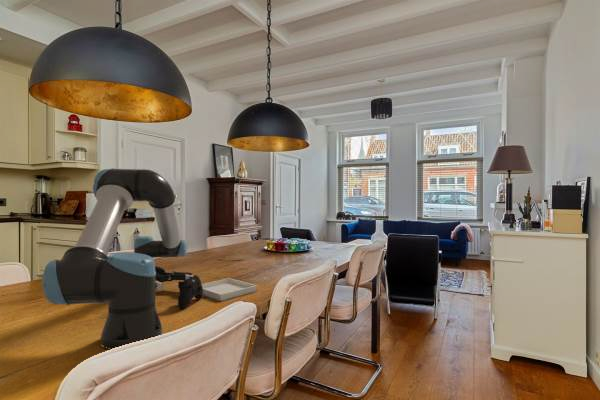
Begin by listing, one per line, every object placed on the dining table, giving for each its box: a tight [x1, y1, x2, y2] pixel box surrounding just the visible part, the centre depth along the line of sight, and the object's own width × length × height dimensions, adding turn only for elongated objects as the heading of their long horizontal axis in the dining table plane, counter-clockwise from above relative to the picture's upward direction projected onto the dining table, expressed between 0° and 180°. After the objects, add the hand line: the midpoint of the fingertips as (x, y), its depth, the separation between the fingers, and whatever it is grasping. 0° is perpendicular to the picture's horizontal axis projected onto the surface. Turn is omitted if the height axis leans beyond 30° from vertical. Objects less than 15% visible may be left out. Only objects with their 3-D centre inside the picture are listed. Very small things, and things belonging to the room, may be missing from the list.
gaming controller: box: [177, 274, 204, 310], centre depth 123 cm, size 14×6×10 cm, turn 168°
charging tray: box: [201, 277, 258, 302], centre depth 139 cm, size 18×19×2 cm
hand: (179, 283), depth 129 cm, fingers open, 13 cm apart
